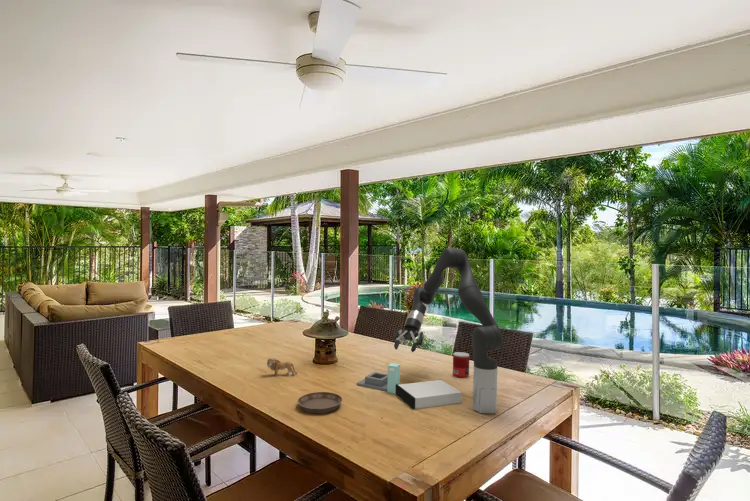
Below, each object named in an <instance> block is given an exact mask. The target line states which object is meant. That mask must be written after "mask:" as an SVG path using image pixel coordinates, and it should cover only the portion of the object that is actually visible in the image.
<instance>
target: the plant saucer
mask: <svg viewBox="0 0 750 501" xmlns="http://www.w3.org/2000/svg"><path fill="white" fill-rule="evenodd" d="M342 401H343V398H342V396H341V395H339V394H337V393H333V392H329V391H319V392H317V391H315V392H310V393H306V394H303V395H301V396H300V397H299V398H298V399H297V404H298V406H299V407H300V408H301V409H302V410H303V411H305V412H307V413H309V414H327V413H331V412H333V411H335V410H336V409H338V408H339V406H340V405H341V404H342V403H343V402H342Z"/></svg>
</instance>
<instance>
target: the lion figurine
mask: <svg viewBox="0 0 750 501" xmlns="http://www.w3.org/2000/svg"><path fill="white" fill-rule="evenodd" d="M266 366H267V367H268V368H269V369H270V370H271V371H274V373H273V376H274V377H276V378H277V377H278V374H279V371H283V370H286V369H287V372H286V373H285V375H289V374H290V373H291V375H290V376H291V377H294V376H295V374H298V372H296V370H295V366H294V363H292V362H291V361H283V362H281V361H280V360H278V359H276V358H275V357H269V358H268V359H266Z"/></svg>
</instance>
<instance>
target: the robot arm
mask: <svg viewBox="0 0 750 501" xmlns="http://www.w3.org/2000/svg"><path fill="white" fill-rule="evenodd" d="M447 268H449V269H457V270H458V273H459V276H460V281H459V284H458V288H457V290H458V292H457V293H458V295H459V298H460V301H461V303H462V305H463V307H464V308H465V309H466V310H467V311H468V312H469V313H471V315H472V316H474V317H475V318H476V319H477V320H478V321H479V322H480V324H481V326H476V327H475V328H474V329H473V331H472V335H471V340H472V341H471V343H472V346H471V347H472V359H473V374H472V375H473V381H472V382H473V383H472V385H473V386H472V409H473V411H475V412H478V413H479V414H496V413H497V402H498V398H497V397H498V395H497V394H498V365H499V364H498V360H497V359H496V358H495V357H494V358H493V357H491V356H489V355H488V352H487V351H490V350H492V351H493V350H498V349H499V350H500V349H501V348H503V344H504V338H503V334H502V331H501V329H500V327H499V325H498V322H497V321H496V320H495V318H494V316H493V315H492V313H491V311H490V309H489V307H488V305H487V303H486V300H485V298H484V295H483V293H482V291H481V289H480V287H479V284H478V282H477V280H476V278H475V275H474V273H473V270H472V267H471V262H470V261H469V258H468V255H467V253H466V251H465V250H464V249H462V248H455V247H446V248H444V249H443V250H442V251H441V254H440V255H439V257H438V260H437V262H436V264H435V266H434V268H433V270H432V271H431V272H432V273H431V274H430V275H429V277H428V278H427V280H426V281H425V282H424V284H423V287H422V286H418V287H416V288H415V290H414V292H413V296H412V297H413V300H412V301H413V302H412V307H411V309H410V312H409V314H408V315H407V318H406V321H405V323H404V327H403V329H400V328H396V330H395V333H394V334H393V337H392V338H393V341H394V343H393V344H394V345H393V347H394V349H395V351H396V350H398V348H399V345H400V343H401V342H404V341H413V342H412V346H411V348H410V351H411V353H415V351H416V350H417V348H418V346H422V345H423V341H424V337H425V335H424V332H423V331H421V332H420V330H421V326H422V324H423V322H424V317H425V314H426V311H427V305H428V306H429V305H431V304H432V303H433V301H434V299H435V295H436V293H437V291H438V290H439V289H440V287H441V286H442V285H443V282H444V271H445V270H446V269H447ZM417 337H418V340H417Z"/></svg>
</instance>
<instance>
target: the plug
mask: <svg viewBox="0 0 750 501" xmlns="http://www.w3.org/2000/svg"><path fill="white" fill-rule="evenodd" d="M387 374H388V386H387V391H386V392H387V393H389V394H393V395H394V394H395V395H396V384H398V385H400V383H401V382H400V381H401V379H400V378H401V377H400V376H401V364H400V363H395V362H394V363H393V362H391V363H390V364H388V365H387Z"/></svg>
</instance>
